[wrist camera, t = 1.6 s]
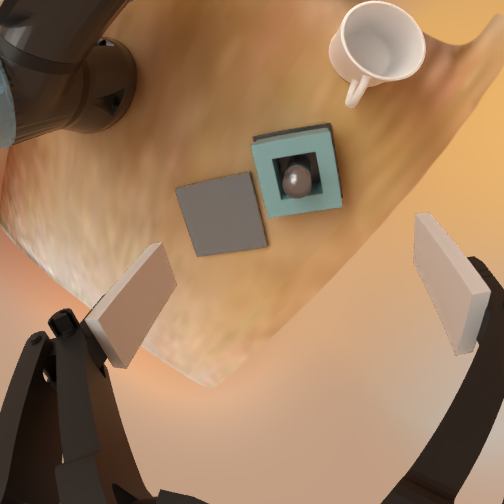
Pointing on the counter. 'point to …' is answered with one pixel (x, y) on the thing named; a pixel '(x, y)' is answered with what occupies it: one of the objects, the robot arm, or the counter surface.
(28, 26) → the robot arm
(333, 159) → the teal square frame
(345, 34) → the mug
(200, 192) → the coaster
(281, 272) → the counter surface
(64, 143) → the counter surface
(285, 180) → the stand
